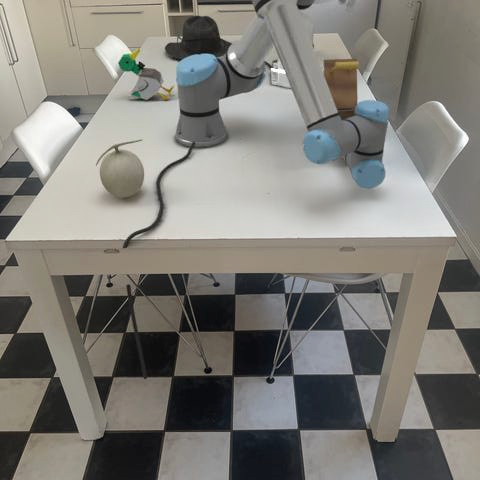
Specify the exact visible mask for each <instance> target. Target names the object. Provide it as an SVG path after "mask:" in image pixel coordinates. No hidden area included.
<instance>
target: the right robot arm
mask: <svg viewBox="0 0 480 480" xmlns="http://www.w3.org/2000/svg"><path fill="white" fill-rule="evenodd" d="M330 2H332V0H315V1H314V2H313V4H312V5H315V4H316V5H318V4H319V5H320V4H325V3H330ZM356 2H357V0H337V3H338V4H339V5H345V11H346V12H347V13H353V12H354V11H355V4H356ZM299 12H300V14H301V17H302V20H303V22H304V25H305V27H306V30H307V33H308V35H309V38H310V40H311V43H312V46H313V48H314V49H315V44H314V33H315V32H314V31H315V22H314V20H313V19H312V17H310V15H308V14H307V13H305V12H303V11H302V10H300V11H299ZM228 46H229V47H230V45H228ZM264 61H265V65H267V66H268V68H269V69H270V70H271V72H270V76H271V85H272V86H280V87H283V88H287V89H291V86H290V84H289V81H288V79H287V76H286V74H285V71H284V69H283V66H282V64H281V61H280V59H279V57H278V58H277V59H275V60H272V63H271V64H272V65H271V64H270V63H269V62H267V61H266V60H264Z"/></svg>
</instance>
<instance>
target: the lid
mask: <svg viewBox="0 0 480 480" xmlns="http://www.w3.org/2000/svg"><path fill="white" fill-rule="evenodd" d="M322 63H323V64H322V65H323V67H322V68H323V69H322V70H323V74H324V77H325V80H326V82H327V85H328V87H329V90H330V93H331V95H332V98H333V100H334V103H335V106H336V108H337V109H356V106H357V105H358V70H359V68H360V61H358V59H357V58H336V59H332V58H331V59H323V61H322Z"/></svg>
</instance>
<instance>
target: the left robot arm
mask: <svg viewBox="0 0 480 480" xmlns="http://www.w3.org/2000/svg"><path fill="white" fill-rule="evenodd" d="M314 1H315V0H251V3H252V6H253V9H254V11H255V15H254V17H253V18H252V20H251V22H250V23H249V25H248V26H247V28H246V29H245V31H244V33H243V34H242V36H241V38H240V39H239V40H238V41H234V42H232V45H231V46H230V47H229V49H228V50H227V52H226V54H225V55H223V56H221V57H215V56H214V55H211V54H200V55H198V54H196V55H192V56H189V57H187V58H184V59H180V61H179V62H178V64H177V65H176V78H175V81H176V86H177V96H178V97H177V98H178V106H179V116H178V121H177V125H176V130H175V140H176V142H177V143H178V144H180V145H182V146H184V147H188V150H187V153H186V155H184V156H183V157H181V158H178V159H177V160H175V161H173V162H171V163H168V164H167V165H166V166H165V167H164V168H163V169H162V170H161V171H160V172H159V174H158V176H157V178H156V182H155V185H156V191H157V198H158V201H159V209H158V214H157V217H156V219H155V220H154V221H153V222H152V223H151V224H150V225H148V226H147V227H144V228H141V229H138V230H136V231H134V232H131V234H129V235H128V237H126V239H125V241H124V243H123V245H122V249H127V248H128V245H129V243H130V242H131V241H132V239H133V238H135V237H136V236H138V235H141V234H144V233H147V232H149V231H151V230H153V229H154V228H155V227H156V226H157V225H158V224H159V222H160V221H161V219H162V216H163V212H164V207H165V206H164V200H163V196H162V190H161V183H160V182H161V179H162V177H163V175H164V174H165V173H166V172H167V171H168V170H169V169H171V168H172V167H174V166H176V165H178V164H180V163H182V162H184V161H185V160H187V159H188V158H189V157H190V156H191V154H192V151H193V149H194V148H197V149H199V148H200V149H201V148H211V147H214V146H217V145H219V144H222V143H223V142H224V141H225V140H226V139H227V128H226V126H225V123H224V120H223V117H222V115H221V112H220V100H224V99H226V98H230V97H234V96H237V95H241V94H247V93H250V92H253V91H255V90H257V89H258V88H260V87H261V86H262V84H263V83H264V82H265V81H264V80H265V78H266V74H265V72H267V71H266V70H267V68H266V63H265V61H266V60H265V59H266V58H267V57H268V56H269V54H270V53H271V52H272V50H273V49H275V51H276V53H277V56H278V58H279V59H280V61H281V64H282V66H283V69H284V71H285V74H286V76H287V79H288V81H289V84H290V86H291V88H290V89H291V92H292V94H293V96H294V98H295V101H296V104H297V106H298V109H299V112H300V114H301V116H302V119H303V121H304V124H305V127H306V129H307V133H306V134H305V135H304V137H303V140H302V145H303V147H302V149H303V153H304V155H305V157H306V158H307V159H308V160H309V161H310V162H311V163H313V164H315V165H323V164H326V163H329V162H334V161H336V160H338V159H340V158H343V160H344V163H345V165H346V166H347V169H348V170H349V173H350V176H351V179H352V180H353V181H354V182H355V184H356V185H357V186H358V187H359V188H361V189H363V190H370V189H371V190H372V189H374V188H377V187H379V185H381V184H382V183H383V182H384V180H385V178H386V176H387V175H386V174H387V172H386V168H385V164H384V163H383V157H384V151H385V150H384V148H385V144H386V143H385V142H386V136H387V132H388V131H387V130H388V125H389V115H390V114H389V113H390V108H389V106H388V105H387V104H386V103H385V102H382V101H380V100H373V99H367V100H362V101H360V102H357V104H358V105H357V106H356V109H355V112H354V114H355V116H353V117H350V118H347V119H344V120H341V118H340V115H339V113H338V111H337V108H336V106H335V103H334V100H333V98H332V95H331V93H330V90H329V87H328V85H327V82H326V80H325V77H324V71H323V69H322V66H321V64H320V61H319V59H318V56H317V53H316V50H315V47H314V48H313V46H312V43H311V40H310V38H309V35H308V33H307V30H306V27H305V25H304V22H303V20H302V17H301V14H300V12H299V11H305V10H308V9H309V8H310V7H312V5H314V4H313V2H314ZM131 287H132V286H131V284H126V293H127V294H126V295H127V300H128V306H129V311H130V318H131V322H132V327H133V333H134V337H135V342H136V347H137V351H138V357H139V362H140V366H141V371H142V377H143V379H144V380H147V379H148V375H147V370H146V364H145V359H144V354H143V349H142V344H141V340H140V334H139V329H138V325H137V319H136V313H135V309H134V308H135V307H134V302H133V301H134V300H133V295H132V288H131Z"/></svg>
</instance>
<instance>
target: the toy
mask: <svg viewBox="0 0 480 480" xmlns="http://www.w3.org/2000/svg"><path fill="white" fill-rule="evenodd" d="M140 52H141V49H140V47H138V48H137V49H135V50H134V51H133V52H131V53H124V54H122V56H121V57H120V59H119V61H118V63H117V64H118V66H119V69H120V70H121V71H123V72H124V73H125V72H127V73H128V72H129V73H130V72H132V73H133V74H135V75H136V76H138V79H137V81H136V83H135V86H134V87H133V88H132V90H131V92H130V95H131V97H130V100H138V99H143V100H146V101H148V100H149V99H150V98H152V97H153V96H154V95H156V94H157V95H158V96H159V97H161V98H163V99H164V100H166V101H167V100H168V98H169V97H170V96H171V94H172V90H173V89H174V87H175V85H172V86H171V87H170V88H166V87H165V86H162V85H163V83H164V78H163V76H162V75H163V74H162V73H161V72H160V71H159V70H157V69H156V68H149V67H146V64H145V63H143V62H142V61H140V60H139V61H138V63H137V61H136V59H137V57H138V55H139V54H140ZM160 89H162V90H164V91H165V92H167V93H168V94H166V95H164V94H162V93H160V92H159V90H160Z"/></svg>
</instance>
